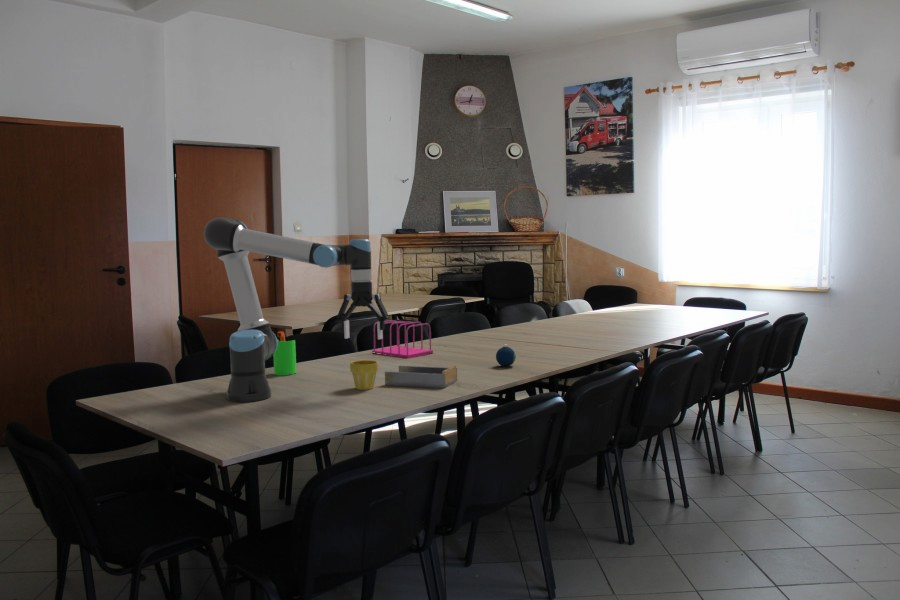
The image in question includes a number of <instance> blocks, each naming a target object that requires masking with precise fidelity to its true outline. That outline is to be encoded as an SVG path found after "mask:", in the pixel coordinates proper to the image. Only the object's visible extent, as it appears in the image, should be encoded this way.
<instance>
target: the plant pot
mask: <svg viewBox="0 0 900 600" xmlns="http://www.w3.org/2000/svg"><path fill="white" fill-rule="evenodd" d="M349 363H350V367H349V368H350V370H349V371H350V372H351V373H352V379H353V383H354V387H355V389H356V390H360V391H361V390H362V391H367V390H372V389H374V388H375V387H374V386H375V383H376V377H377V372H378V371H379V361H377V360H373V359H371V360H370V359H362V360H359V359H358V360H353V361H350V362H349Z"/></svg>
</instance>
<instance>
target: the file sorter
mask: <svg viewBox="0 0 900 600" xmlns="http://www.w3.org/2000/svg"><path fill="white" fill-rule="evenodd" d="M377 322H378V321H376V322H375V323H374V324H373V350H371V353H372V352H375V353H381V354H386V355H392V356H391V357H393V356H398V357H397V358H401V357H405V358H404V359H411V358H410V357H412V358H416V357H415V356H417V357H421V356H420V355H422V356H425V354H428V355H430V354H429V353H432V354H434V350H433V349H432V332H431V331H432V330H431V325H430V324H429V323H426V322H425V323H422V322H421V321H404V320H395V319H391V320H389V319H388V320H385V321H384V325H386V324H390V327H389V347H384V338H383V339H381V348H378V349H376V326H377ZM399 324H400V325H399ZM393 325H396V345H395V346H392V326H393ZM407 325H409V326H408V327H407ZM425 325H427V326H428V331H429V333H428V334H429V336H428V337H429V349H428V348H426V349H425V348H423V347H424V345H423V341H424V340H423V337H424V336H423V334H424V333H423V326H425ZM402 326H404V346H401V345H400V344H401V343H400V329H401V327H402ZM418 326H420V336H421V337H420V339H421V340H420V343H421V346H420V347H421V348H419V347H417V348H416V347H415V327H418ZM410 328H412V347H410V346H409V337H408V335H409V329H410ZM386 355H385V356H386Z"/></svg>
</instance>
